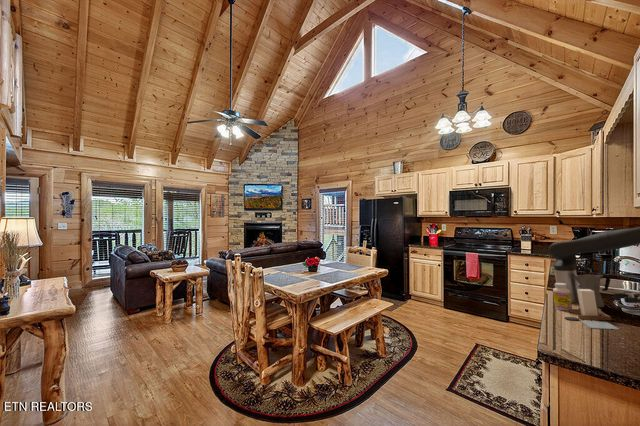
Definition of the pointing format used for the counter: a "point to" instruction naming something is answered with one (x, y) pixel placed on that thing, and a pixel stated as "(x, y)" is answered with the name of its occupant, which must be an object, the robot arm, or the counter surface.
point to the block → (587, 302)
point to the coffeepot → (593, 285)
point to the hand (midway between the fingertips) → (619, 297)
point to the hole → (572, 318)
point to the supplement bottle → (562, 297)
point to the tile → (599, 325)
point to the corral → (602, 317)
